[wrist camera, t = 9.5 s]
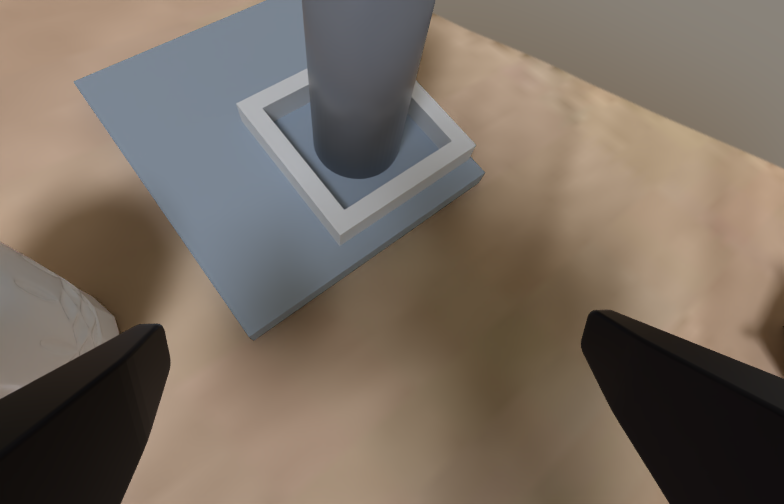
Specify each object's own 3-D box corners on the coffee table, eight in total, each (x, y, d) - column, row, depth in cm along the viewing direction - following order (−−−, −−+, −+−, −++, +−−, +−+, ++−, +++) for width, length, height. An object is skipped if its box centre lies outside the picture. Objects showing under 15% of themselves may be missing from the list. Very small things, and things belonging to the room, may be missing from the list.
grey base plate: (478, 182, 26) (494, 158, 24) (253, 340, 21) (242, 332, 19) (311, -3, 30) (308, -40, 27) (85, 96, 25) (56, 61, 22)
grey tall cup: (403, 180, 24) (472, -46, 12) (311, 180, 23) (285, -63, 11) (397, 105, 26) (451, -159, 14) (311, 102, 25) (289, -180, 13)
